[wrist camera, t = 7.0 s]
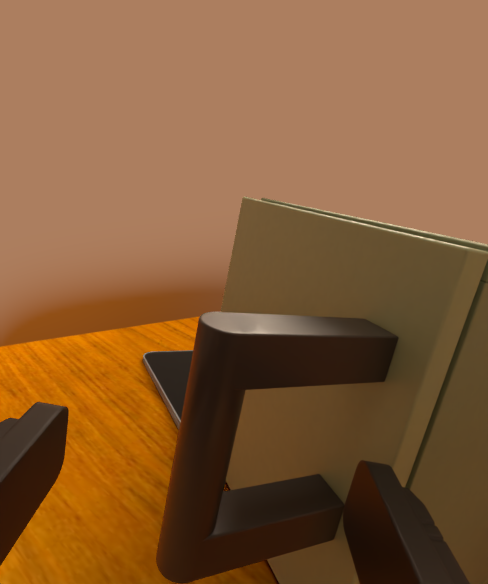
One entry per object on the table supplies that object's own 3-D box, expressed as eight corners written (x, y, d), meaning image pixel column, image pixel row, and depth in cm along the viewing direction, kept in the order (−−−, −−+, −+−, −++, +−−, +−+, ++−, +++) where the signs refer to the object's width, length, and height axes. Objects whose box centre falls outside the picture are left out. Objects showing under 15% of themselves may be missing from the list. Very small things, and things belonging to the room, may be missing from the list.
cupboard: (347, 660, 15) (499, 248, 11) (214, 427, 27) (261, 197, 23) (501, 585, 19) (647, 277, 15) (326, 415, 32) (381, 222, 28)
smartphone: (213, 349, 39) (300, 441, 26) (211, 357, 39) (297, 453, 27) (140, 352, 35) (201, 460, 23) (138, 361, 35) (198, 473, 23)
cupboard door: (149, 753, 11) (262, 209, 7) (100, 437, 24) (132, 174, 20) (343, 659, 14) (491, 252, 11) (211, 426, 27) (257, 199, 23)
